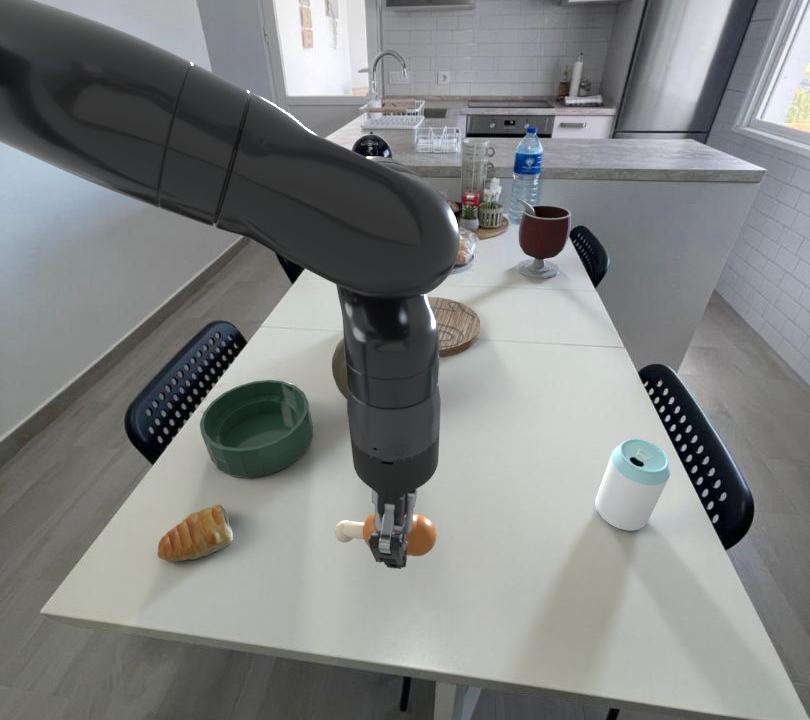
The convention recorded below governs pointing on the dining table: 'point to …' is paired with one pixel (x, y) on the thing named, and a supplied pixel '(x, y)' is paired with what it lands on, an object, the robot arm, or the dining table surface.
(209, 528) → the pastry
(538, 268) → the mate gourd
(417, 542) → the drumstick
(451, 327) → the trivet
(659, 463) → the can
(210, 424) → the green faceted bowl
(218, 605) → the dining table surface
